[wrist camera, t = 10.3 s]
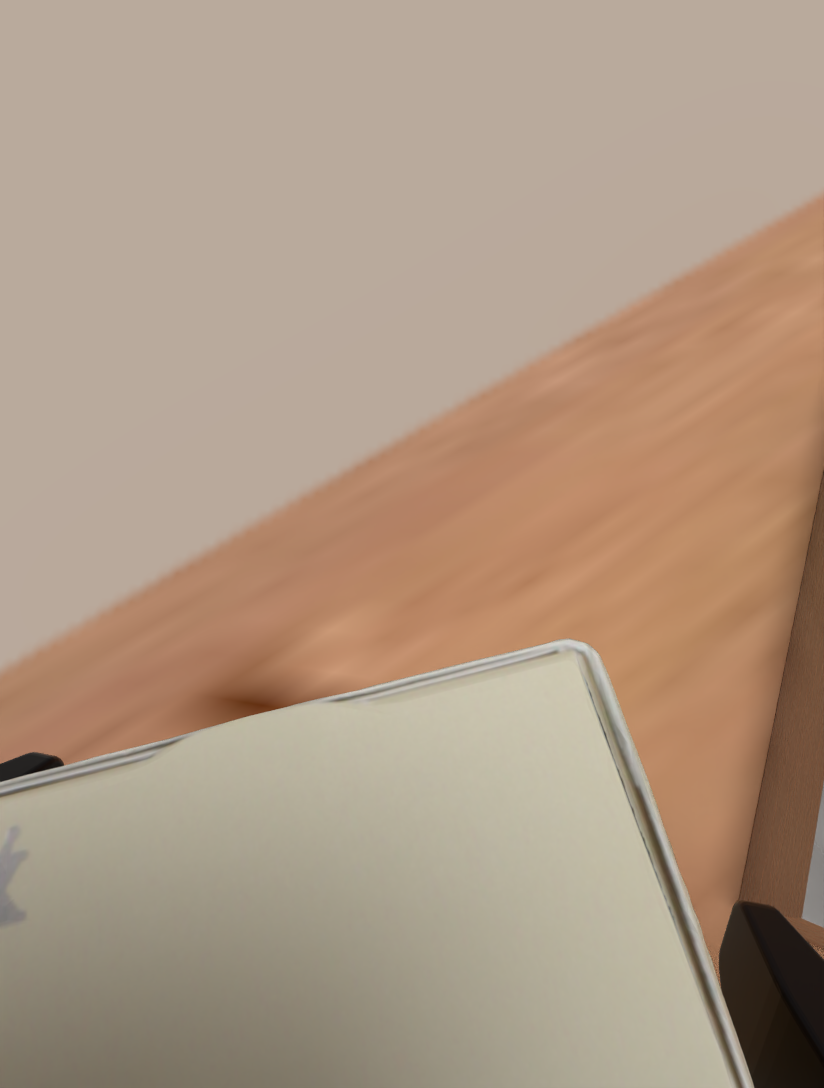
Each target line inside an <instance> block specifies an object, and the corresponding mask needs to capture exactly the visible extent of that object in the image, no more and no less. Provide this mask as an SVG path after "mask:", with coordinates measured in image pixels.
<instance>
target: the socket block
mask: <svg viewBox="0 0 824 1088" xmlns="http://www.w3.org/2000/svg"><path fill="white" fill-rule="evenodd" d="M739 900H748V901H753V902H757V903H762V904H767V905H770V906H773V907H775V908H776V909H777V910H778V911H779V912H780V913H781V914H782V915H783V916H784V917H785V918H786V919H787V920H788V921H789V922H790V923H791V925H792V926H793V927H794V928H795V929H796V930H797V931H798V932H799V933H800V934H801V935H802V937H803V938H804V939H805V940H806V941H807V942H809V943H811V944H814V945H816V946H818V947H821V948H823V949H824V473H823V478H822V483H821V488H820V493H819V498H818V503H817V508H816V514H815V519H814V524H813V529H812V534H811V539H810V544H809V549H808V554H807V559H806V564H805V569H804V574H803V579H802V584H801V589H800V594H799V599H798V604H797V610H796V615H795V620H794V625H793V630H792V635H791V640H790V645H789V650H788V655H787V660H786V665H785V670H784V675H783V680H782V685H781V690H780V695H779V700H778V706H777V711H776V716H775V721H774V726H773V731H772V736H771V741H770V746H769V751H768V756H767V761H766V766H765V771H764V776H763V781H762V786H761V791H760V796H759V802H758V807H757V812H756V817H755V822H754V827H753V832H752V837H751V842H750V847H749V852H748V857H747V862H746V867H745V872H744V877H743V882H742V887H741V892H740V898H739Z"/></svg>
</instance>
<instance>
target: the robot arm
mask: <svg viewBox="0 0 824 1088" xmlns="http://www.w3.org/2000/svg"><path fill="white" fill-rule="evenodd" d="M61 766H64V763H63V762H62V760H61V759H60V758H58V757H57V756H53V755H48V754H43V753H38V752H32V753H28V754H25V755H22V756H20V757H17V758H15V759H12V760H9V761H7V762H4V763H2V764H0V782H3V781H7V780H10V779H14V778H17V777H21V776H24V775H28V774H32V773H36V772H41V771H45V770H49V769H53V768H57V767H61ZM719 974H720V981H721V989H722V994H723V997H724V999H725V1002H726V1005H727V1008H728V1011H729V1014H730V1017H731V1020H732V1022H733V1025H734V1028H735V1031H736V1034H737V1037H738V1040H739V1043H740V1046H741V1049H742V1052H743V1055H744V1058H745V1061H746V1064H747V1067H748V1069H749V1072H750V1075H751V1078H752V1082H753V1085H754V1088H824V960H823V958H822V957H821V956H820V955H819V954H818V953H817V952H816V951H815V950H814V949H813V948H812V946H811V945H810V944H809V943H808V942H807V941H806V940H805V939H804V938H803V937H802V935H801V934H800V933H799V932H798V931H797V930H796V929H795V928H794V927H793V926H792V925H791V923H790V922H789V921H788V920H787V919H786V918H785V917H784V916H783V915H782V914H781V913H780V912H779V911H778V910H777V909H776V908H775V907H773V906H770V905H767V904H762V903H757V902H753V901H748V900H739V901H737V902H736V903H735V904H734V906H733V909H732V912H731V915H730V918H729V921H728V925H727V928H726V931H725V934H724V938H723V941H722V944H721V948H720V953H719Z"/></svg>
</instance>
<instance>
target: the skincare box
mask: <svg viewBox="0 0 824 1088" xmlns="http://www.w3.org/2000/svg"><path fill="white" fill-rule="evenodd" d="M0 1088H754V1085H753V1082H752V1078H751V1075H750V1072H749V1069H748V1067H747V1064H746V1061H745V1058H744V1055H743V1052H742V1049H741V1046H740V1043H739V1040H738V1037H737V1034H736V1031H735V1028H734V1025H733V1022H732V1020H731V1017H730V1014H729V1011H728V1008H727V1005H726V1002H725V999H724V997H723V994H722V991H721V987H720V984H719V981H718V978H717V975H716V972H715V969H714V965H713V962H712V959H711V957H710V954H709V952H708V949H707V947H706V944H705V941H704V937H703V934H702V930H701V926H700V923H699V921H698V919H697V916H696V914H695V911H694V909H693V906H692V903H691V900H690V897H689V893H688V890H687V888H686V885H685V883H684V881H683V878H682V876H681V874H680V871H679V868H678V865H677V862H676V859H675V856H674V853H673V850H672V847H671V844H670V841H669V839H668V836H667V834H666V831H665V829H664V826H663V822H662V819H661V816H660V813H659V810H658V807H657V804H656V801H655V798H654V795H653V793H652V790H651V787H650V784H649V782H648V779H647V776H646V774H645V771H644V768H643V766H642V763H641V761H640V758H639V755H638V753H637V750H636V747H635V745H634V742H633V740H632V737H631V734H630V732H629V729H628V726H627V724H626V721H625V718H624V716H623V713H622V710H621V708H620V705H619V702H618V699H617V697H616V694H615V691H614V689H613V686H612V683H611V680H610V678H609V675H608V673H607V671H606V668H605V666H604V664H603V661H602V659H601V657H600V655H599V654H598V652H597V651H596V650H595V649H593V648H592V647H591V646H590V645H589V644H587V643H584V642H580V641H577V640H573V639H559V640H556V641H553V642H549V643H546V644H542V645H538V646H534V647H529V648H525V649H521V650H517V651H513V652H508V653H504V654H500V655H496V656H491V657H487V658H483V659H479V660H475V661H470V662H466V663H462V664H458V665H454V666H450V667H446V668H443V669H439V670H435V671H431V672H427V673H423V674H419V675H415V676H411V677H407V678H403V679H399V680H394V681H390V682H386V683H382V684H378V685H374V686H371V687H368V688H364V689H361V690H358V691H354V692H348V693H344V694H339V695H334V696H330V697H325V698H320V699H316V700H312V701H308V702H304V703H300V704H296V705H292V706H289V707H285V708H282V709H277V710H273V711H269V712H265V713H260V714H256V715H252V716H248V717H244V718H241V719H237V720H234V721H230V722H227V723H223V724H220V725H216V726H212V727H209V728H205V729H202V730H198V731H195V732H191V733H187V734H184V735H180V736H177V737H173V738H169V739H166V740H162V741H158V742H154V743H150V744H146V745H142V746H138V747H134V748H130V749H126V750H122V751H118V752H114V753H110V754H106V755H102V756H98V757H94V758H90V759H87V760H83V761H79V762H76V763H72V764H69V765H65V766H61V767H57V768H53V769H49V770H45V771H41V772H36V773H32V774H28V775H24V776H21V777H17V778H14V779H10V780H7V781H3V782H0Z"/></svg>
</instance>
